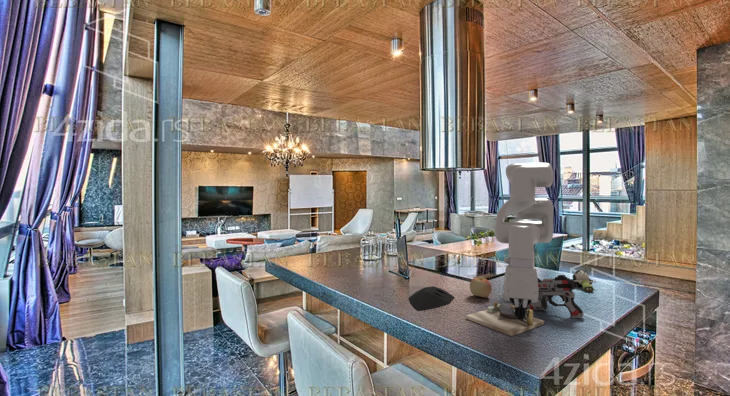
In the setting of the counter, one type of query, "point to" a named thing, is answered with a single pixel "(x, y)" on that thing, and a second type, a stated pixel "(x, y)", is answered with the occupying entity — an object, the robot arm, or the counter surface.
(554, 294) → the toy blaster
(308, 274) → the counter surface
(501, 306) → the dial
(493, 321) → the board
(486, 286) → the apple
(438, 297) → the mask
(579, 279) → the toy
